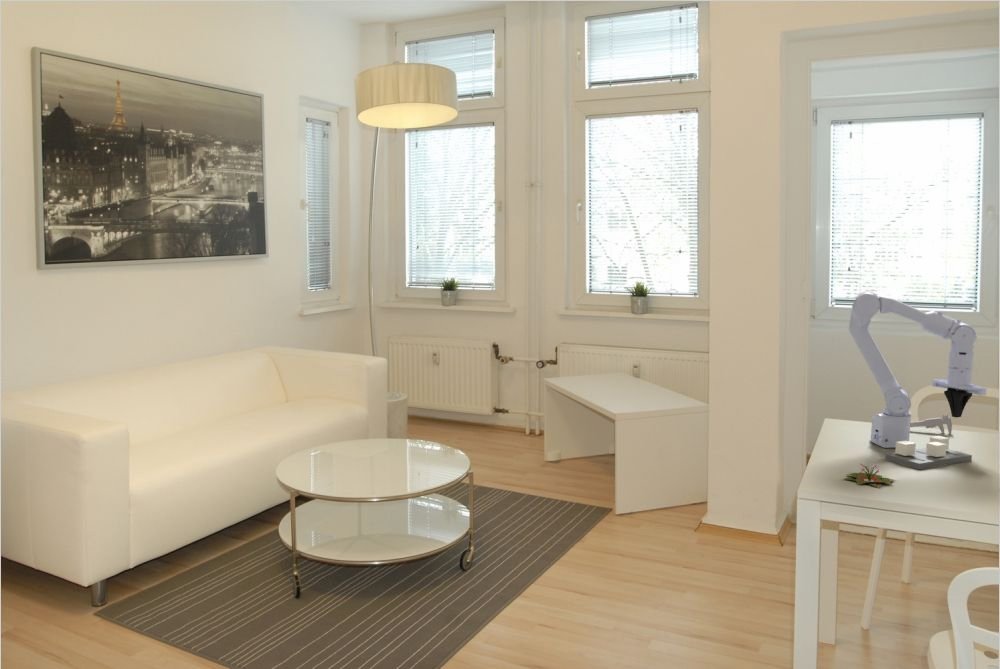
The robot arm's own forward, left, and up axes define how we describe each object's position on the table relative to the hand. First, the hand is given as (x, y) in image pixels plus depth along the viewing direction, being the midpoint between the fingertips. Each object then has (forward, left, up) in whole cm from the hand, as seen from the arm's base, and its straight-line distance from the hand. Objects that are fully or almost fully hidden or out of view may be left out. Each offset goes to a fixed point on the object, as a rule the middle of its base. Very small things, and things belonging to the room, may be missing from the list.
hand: (956, 416), depth 228 cm
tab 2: (-12, -11, -7) cm, 18 cm away
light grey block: (-20, -9, -8) cm, 23 cm away
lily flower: (-38, -25, -10) cm, 47 cm away
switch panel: (-13, -9, -9) cm, 18 cm away
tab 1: (-8, -5, -8) cm, 12 cm away
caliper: (+2, +22, -10) cm, 24 cm away
